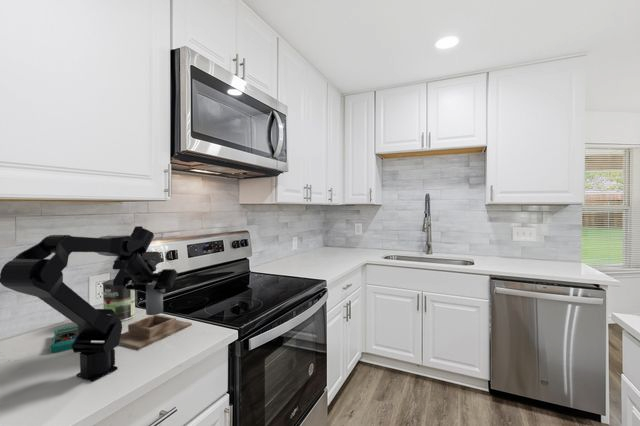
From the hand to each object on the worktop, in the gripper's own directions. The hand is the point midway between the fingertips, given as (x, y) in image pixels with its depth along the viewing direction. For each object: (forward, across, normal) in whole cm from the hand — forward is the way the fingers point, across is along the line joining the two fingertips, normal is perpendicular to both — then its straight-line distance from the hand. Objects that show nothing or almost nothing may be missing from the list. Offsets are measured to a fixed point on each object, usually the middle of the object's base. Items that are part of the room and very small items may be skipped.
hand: (156, 291), depth 105 cm
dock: (+8, +1, +10) cm, 13 cm away
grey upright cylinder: (+4, 0, +6) cm, 7 cm away
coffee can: (+18, +22, +2) cm, 28 cm away
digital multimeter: (+4, +24, +16) cm, 29 cm away
